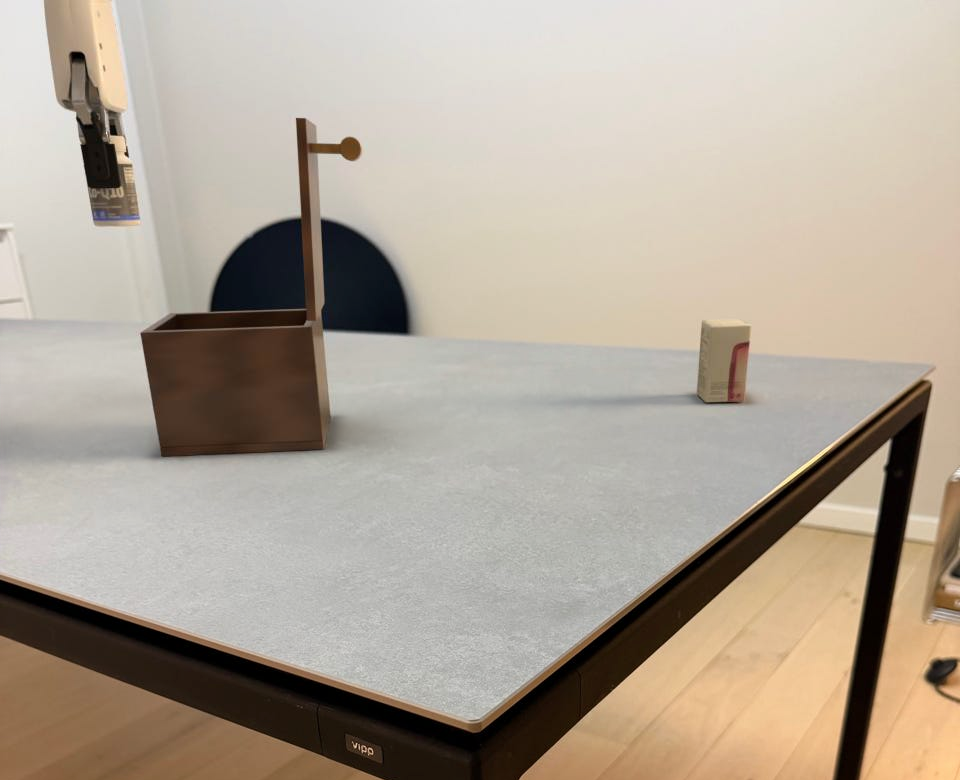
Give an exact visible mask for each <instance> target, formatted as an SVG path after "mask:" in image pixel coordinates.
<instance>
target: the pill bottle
mask: <svg viewBox="0 0 960 780" xmlns="http://www.w3.org/2000/svg"><path fill="white" fill-rule="evenodd" d="M110 139H111V142H110V144H115V149H116V155H117V162H118V168H119V174H120V180H121V187H120V188H104V189H91V188H89V187H88V185H87V184H86V186H87V192H88V198H89V204H90V211H91V214H92V222H93V225H94V226H95V227H100V228H101V227H135V226H140V225H141V215H140V208H139V203H138V195H137V188H136V183H135V181H136V180H135V175H134V168H133V162H132V160H131V159H130V157H129V158H128V157H126V156H125V154H124V152H126V146H127V144H126V145H125V139H124V137H123V136H110ZM83 169H84V170H85V168H84V167H83ZM84 175H85V176H86V174H85V173H84ZM85 180H86V179H85ZM86 182H87V180H86Z"/></svg>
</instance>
